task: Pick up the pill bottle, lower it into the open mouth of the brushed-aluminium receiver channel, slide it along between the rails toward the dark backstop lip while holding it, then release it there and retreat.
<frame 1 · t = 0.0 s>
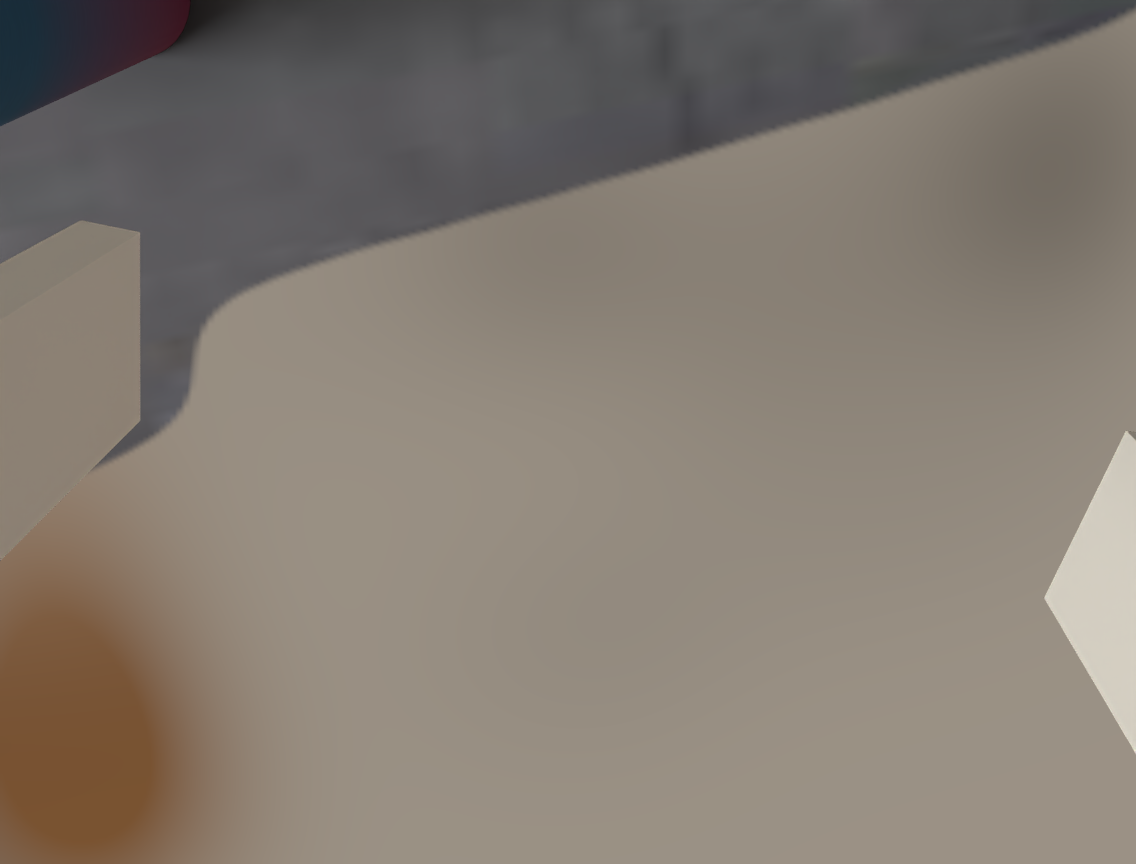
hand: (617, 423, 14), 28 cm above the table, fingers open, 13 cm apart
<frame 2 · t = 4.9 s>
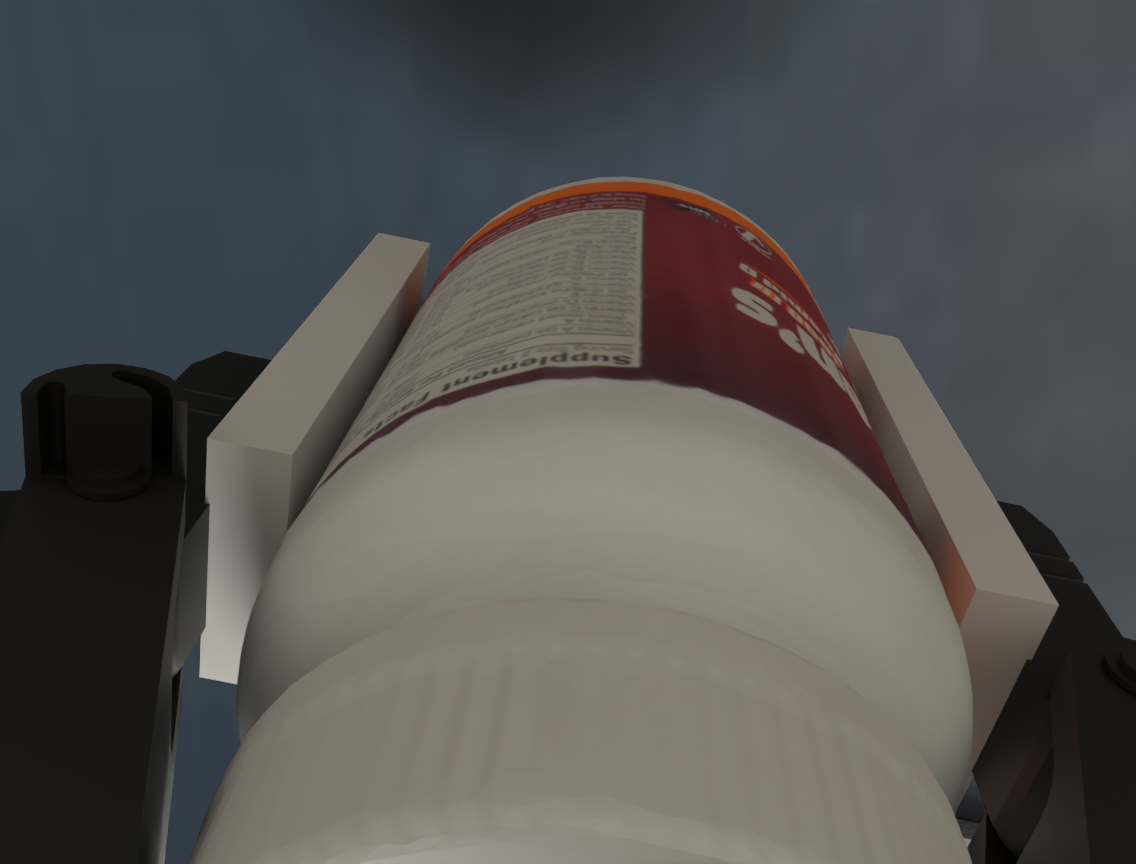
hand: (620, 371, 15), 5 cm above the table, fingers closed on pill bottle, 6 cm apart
pill bottle: (618, 363, 16), point 5 cm above the table, touching gripper
when the fingers open (2 cm above the table, at t = 11.1 s): pill bottle drops 1 cm, resting on receiver.
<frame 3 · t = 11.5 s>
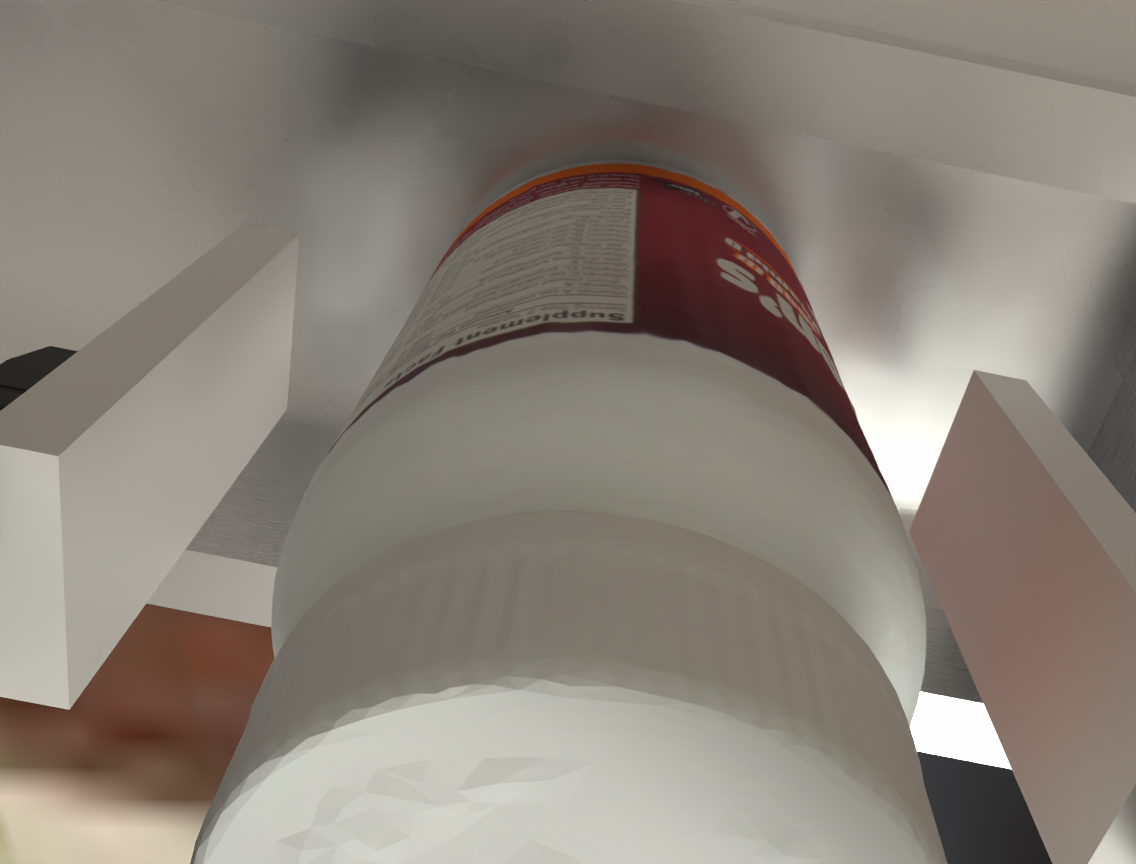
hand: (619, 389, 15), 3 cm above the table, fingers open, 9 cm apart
pill bottle: (613, 336, 17), resting on receiver
receiver: (506, 298, 17), on the table
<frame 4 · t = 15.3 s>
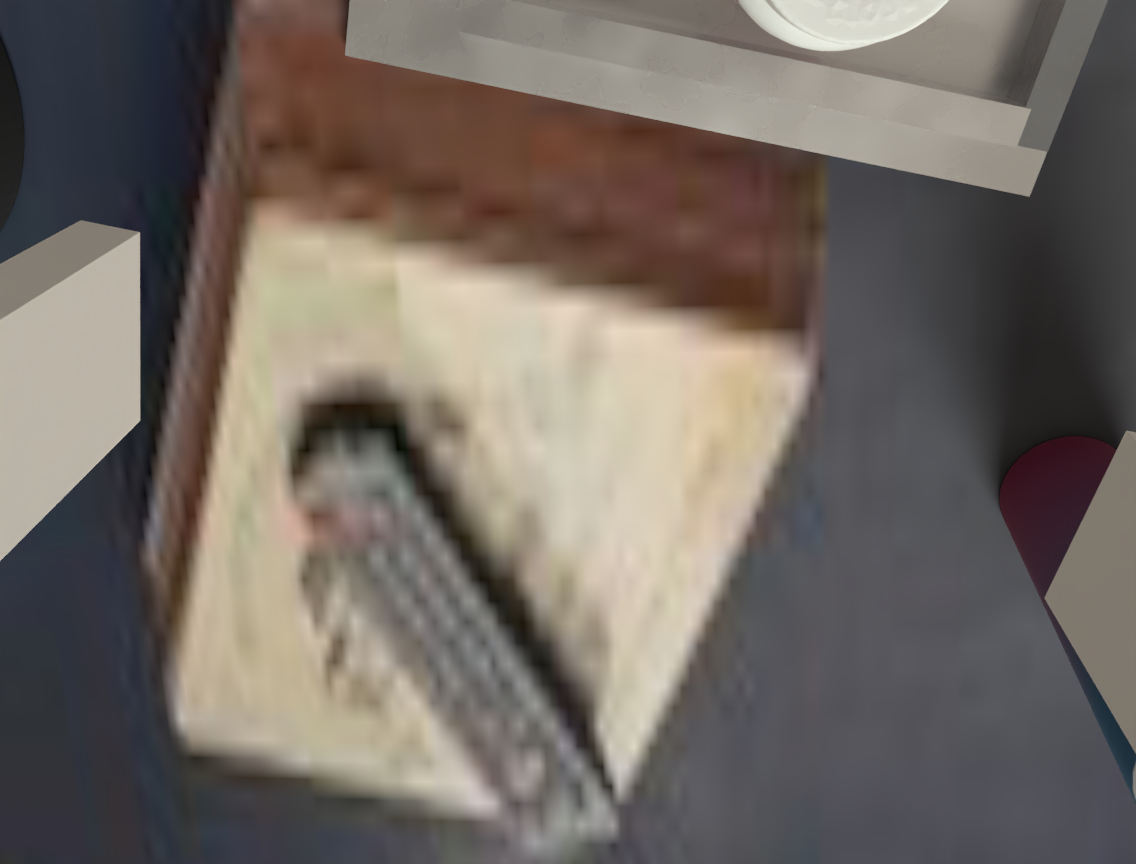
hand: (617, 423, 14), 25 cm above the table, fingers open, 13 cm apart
cup: (1061, 488, 42), on the table
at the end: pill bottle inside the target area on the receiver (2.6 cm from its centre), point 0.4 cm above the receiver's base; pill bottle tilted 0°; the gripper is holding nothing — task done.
